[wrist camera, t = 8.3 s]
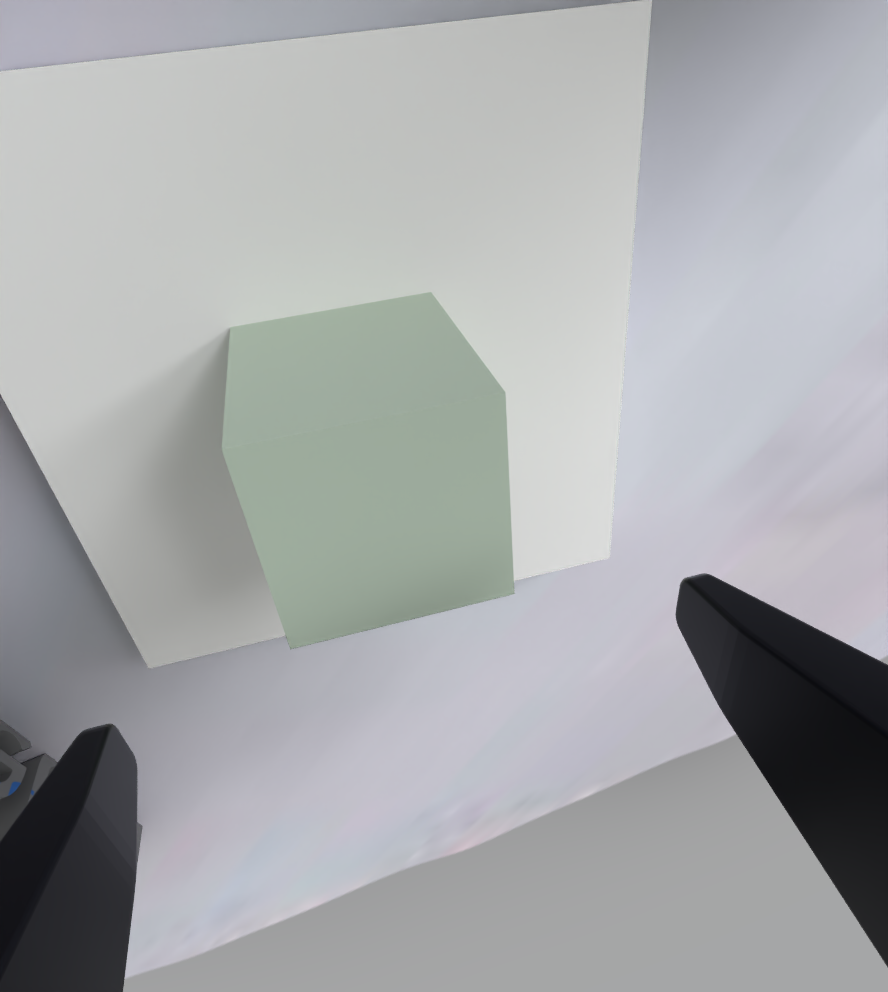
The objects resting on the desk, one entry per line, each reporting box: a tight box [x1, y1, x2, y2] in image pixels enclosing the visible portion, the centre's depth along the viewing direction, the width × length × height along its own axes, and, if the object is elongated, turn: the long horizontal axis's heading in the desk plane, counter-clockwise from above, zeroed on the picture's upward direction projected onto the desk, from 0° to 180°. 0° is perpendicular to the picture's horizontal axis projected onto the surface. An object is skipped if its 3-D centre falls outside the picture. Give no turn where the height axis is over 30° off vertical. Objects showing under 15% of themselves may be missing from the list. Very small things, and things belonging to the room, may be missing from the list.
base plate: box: [0, 0, 652, 669], centre depth 18 cm, size 16×16×2 cm
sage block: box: [222, 292, 514, 649], centre depth 15 cm, size 5×5×6 cm
